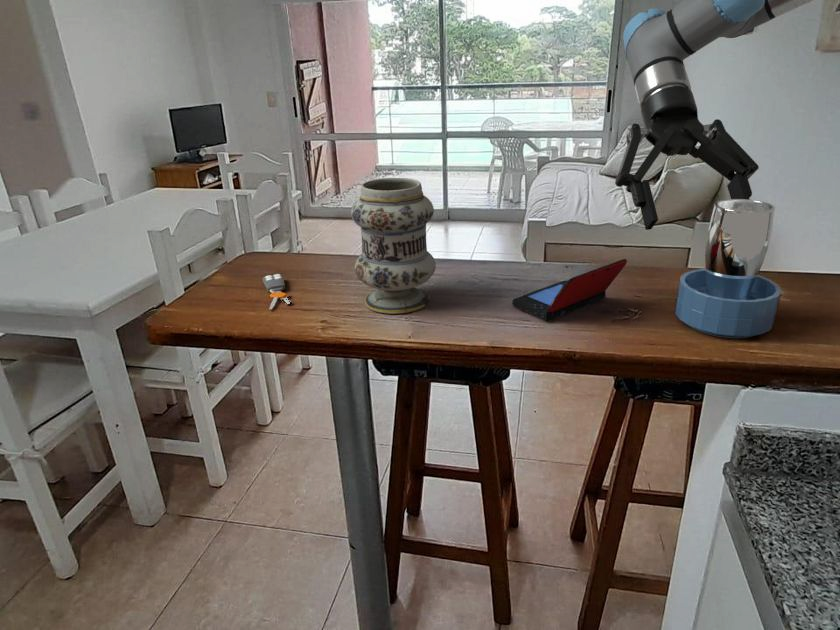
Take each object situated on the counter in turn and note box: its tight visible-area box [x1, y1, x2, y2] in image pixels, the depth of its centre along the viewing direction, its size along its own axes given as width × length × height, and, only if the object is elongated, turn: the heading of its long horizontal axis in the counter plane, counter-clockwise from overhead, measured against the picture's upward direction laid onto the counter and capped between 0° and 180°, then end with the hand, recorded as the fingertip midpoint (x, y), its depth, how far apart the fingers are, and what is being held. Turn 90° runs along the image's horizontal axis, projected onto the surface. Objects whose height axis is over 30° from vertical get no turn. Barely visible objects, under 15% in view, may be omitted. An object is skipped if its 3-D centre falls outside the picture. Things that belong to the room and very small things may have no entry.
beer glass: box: [704, 198, 776, 300], centre depth 73 cm, size 7×7×15 cm
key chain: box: [262, 273, 292, 311], centre depth 92 cm, size 13×4×2 cm, turn 19°
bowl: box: [674, 268, 782, 339], centre depth 75 cm, size 12×12×6 cm
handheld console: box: [511, 258, 628, 322], centre depth 81 cm, size 12×11×7 cm
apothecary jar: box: [350, 177, 437, 315], centre depth 84 cm, size 12×12×18 cm
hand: (699, 222), depth 81 cm, fingers open, 13 cm apart
